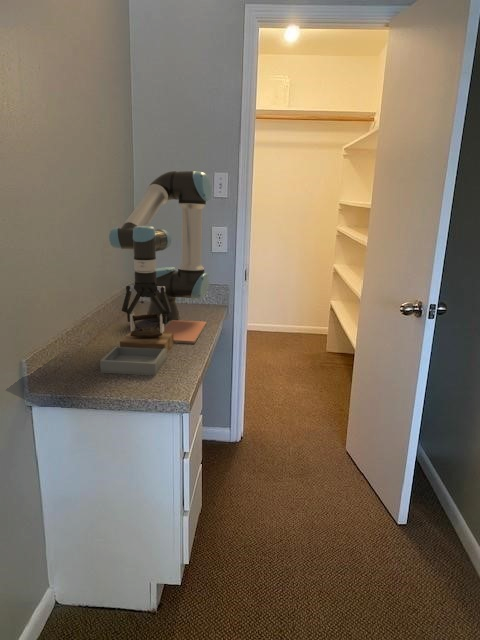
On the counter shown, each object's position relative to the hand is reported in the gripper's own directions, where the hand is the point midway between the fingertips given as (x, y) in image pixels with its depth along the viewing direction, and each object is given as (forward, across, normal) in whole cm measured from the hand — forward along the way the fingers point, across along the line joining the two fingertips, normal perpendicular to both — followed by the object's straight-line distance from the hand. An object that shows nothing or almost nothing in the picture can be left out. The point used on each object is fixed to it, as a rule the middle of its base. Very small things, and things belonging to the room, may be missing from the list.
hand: (147, 331), depth 165 cm
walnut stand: (+7, 0, 0) cm, 7 cm away
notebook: (+8, +8, +23) cm, 25 cm away
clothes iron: (+2, -1, 0) cm, 2 cm away
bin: (+7, 0, -15) cm, 17 cm away
